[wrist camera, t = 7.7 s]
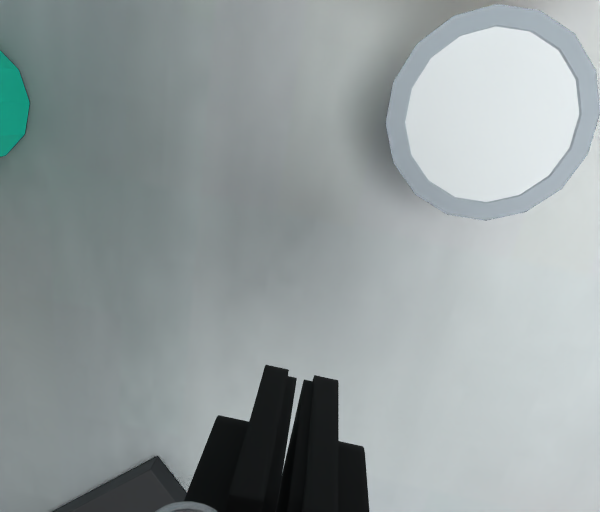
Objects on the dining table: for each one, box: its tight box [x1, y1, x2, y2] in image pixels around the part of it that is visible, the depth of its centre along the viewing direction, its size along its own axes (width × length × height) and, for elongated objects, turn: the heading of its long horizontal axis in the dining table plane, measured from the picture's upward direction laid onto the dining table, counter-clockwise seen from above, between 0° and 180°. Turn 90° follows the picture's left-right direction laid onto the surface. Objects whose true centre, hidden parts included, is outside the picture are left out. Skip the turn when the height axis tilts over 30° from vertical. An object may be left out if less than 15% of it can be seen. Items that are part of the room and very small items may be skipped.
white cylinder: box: [386, 4, 600, 221], centre depth 20 cm, size 7×7×7 cm
